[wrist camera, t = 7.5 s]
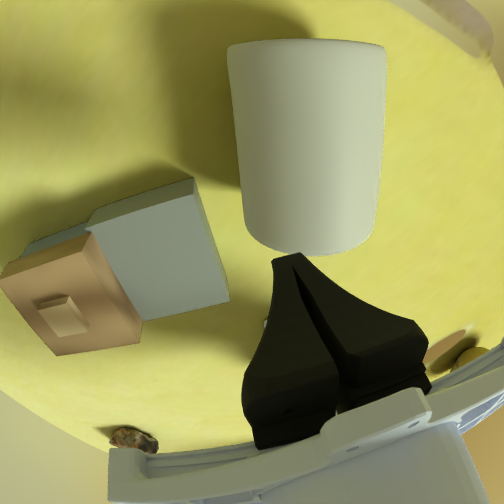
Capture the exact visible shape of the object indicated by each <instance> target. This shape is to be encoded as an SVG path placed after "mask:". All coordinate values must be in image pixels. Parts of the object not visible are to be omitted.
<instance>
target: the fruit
mask: <svg viewBox="0 0 504 504" xmlns="http://www.w3.org/2000/svg"><path fill="white" fill-rule="evenodd" d="M487 351H489V350H488V349H486V348H483V347H473V348H470V349H468V350H466V351H464V352H463V353H462V354H461V355H460V356H459V358H458V359H457V361H456V362H455V364H454V365H453V367H452V369H451V371H450V372H452V371H454V370H456V369H458V368H460V367H462V366H463V365H465V364H467V363H469V362H471V361H472V360H474V359H476V358H477V357H479V356H481V355H483V354H484V353H486V352H487Z"/></svg>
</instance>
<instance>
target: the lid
mask: <svg viewBox="0 0 504 504" xmlns="http://www.w3.org/2000/svg"><path fill="white" fill-rule="evenodd" d="M0 287H1V288H2V290H3V291H4V293H5V294H6V295H7V297H8V298H9V299H10V301H11V302H12V303H13V305H14V306H15V307H16V309H17V310H18V311H19V313H20V314H21V315H22V317H23V318H24V319H25V320H26V322H27V323H28V324H29V325H30V326H31V328H32V329H33V330H34V331H35V332H36V334H37V335H38V336H39V337H40V338H41V339H42V341H43V342H44V343H45V344H46V345H47V346H48V347H49V349H50V350H51V351H52V352H53V353H54V354H55V355H56V356H61V355H69V354H76V353H82V352H89V351H95V350H101V349H107V348H113V347H119V346H125V345H131V344H136V343H140V338H141V330H142V323H143V320H142V319H141V317H140V316H139V314H138V312H137V311H136V309H135V308H134V306H133V304H132V303H131V301H130V299H129V298H128V296H127V294H126V293H125V291H124V289H123V288H122V286H121V284H120V283H119V281H118V279H117V277H116V276H115V274H114V272H113V270H112V269H111V267H110V265H109V263H108V261H107V259H106V258H105V256H104V254H103V252H102V250H101V248H100V246H99V245H98V243H97V241H96V239H95V237H94V235H93V233H92V232H90V233H87V234H84V235H81V236H78V237H75V238H72V239H70V240H67V241H64V242H61V243H58V244H56V245H53V246H50V247H48V248H45V249H42V250H40V251H37V252H34V253H32V254H29V255H27V256H24V257H21V258H19V259H16V260H14V261H11V262H9V263H8V265H7V266H6V267H5V269H4V271H3V272H2V274H1V275H0Z"/></svg>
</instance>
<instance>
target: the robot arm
mask: <svg viewBox="0 0 504 504" xmlns="http://www.w3.org/2000/svg"><path fill="white" fill-rule="evenodd" d="M271 263H272V268H273V293H272V300H271V306H270V311H269V316H268V319H267V320H265V321H264V327H265V330H264V333H263V336H262V338H261V341H260V343H259V345H258V348H257V350H256V352H255V355H254V357H253V359H252V360H251V362H250V364H249V366H248V368H247V369H246V371H245V373H244V379H243V384H242V393H241V401H242V407H243V412H244V416H245V417H246V419H247V421H248V422H249V424H250V426H251V427H252V431H253V437H254V441H252V442H247V443H242V444H236V445H230V446H224V447H217V448H210V449H202V450H194V451H184V452H173V453H159V454H145V453H144V452H143V451H142V450H140V449H137V448H110V449H109V465H108V501H109V502H112V503H115V504H490V501H489V499H488V496H487V493H486V491H485V488H484V486H483V484H482V481H481V479H480V476H479V474H478V471H477V469H476V467H475V465H474V462H473V460H472V458H471V455H470V453H469V451H468V449H467V447H466V444H465V442H464V440H463V438H462V436H461V434H463V433H464V432H466V431H467V430H469V429H470V428H472V427H473V426H475V425H476V424H477V423H479V422H481V421H482V420H483V419H485V418H486V417H487V416H489V415H490V414H492V413H493V412H494V411H495V410H497V409H498V408H499V407H501V406H502V405H503V404H504V337H503V339H502V341H501V343H500V344H499V345H497V346H496V347H494V348H492V349H491V350H489V351H487V352H486V353H484V354H483V355H481V356H479V357H477V358H476V359H474V360H472V361H471V362H469V363H467V364H465V365H463V366H462V367H460V368H458V369H456V370H454V371H452V372H450V373H448V374H446V375H445V376H443V377H441V378H439V379H437V380H435V381H433V382H430V381H429V379H428V378H427V376H426V374H425V371H426V367H425V366H424V364H423V362H422V361H423V359H424V356H425V353H426V351H427V348H428V344H429V342H428V339H427V337H426V335H425V334H424V332H423V331H422V330H421V328H420V327H419V326H418V325H417V324H416V322H415V321H414V320H411V319H407V318H404V317H401V316H397V315H394V314H391V313H389V312H386V311H383V310H381V309H379V308H376V307H374V306H372V305H370V304H368V303H366V302H364V301H362V300H360V299H359V298H357V297H355V296H354V295H352V294H350V293H349V292H347V291H346V290H344V289H343V288H341V287H340V286H339V285H337V284H336V283H334V282H333V281H332V280H331V279H329V278H328V277H327V276H326V275H325V274H323V273H322V272H321V271H320V270H319V269H318V268H316V267H315V266H314V265H313V264H312V263H311V262H310V261H309V260H308V259H307V258H306V257H305V256H304V255H303V254H302V253H301V252H298V253H294V254H290V255H286V256H283V257H279V258H275V259H273V260H272V261H271Z"/></svg>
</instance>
